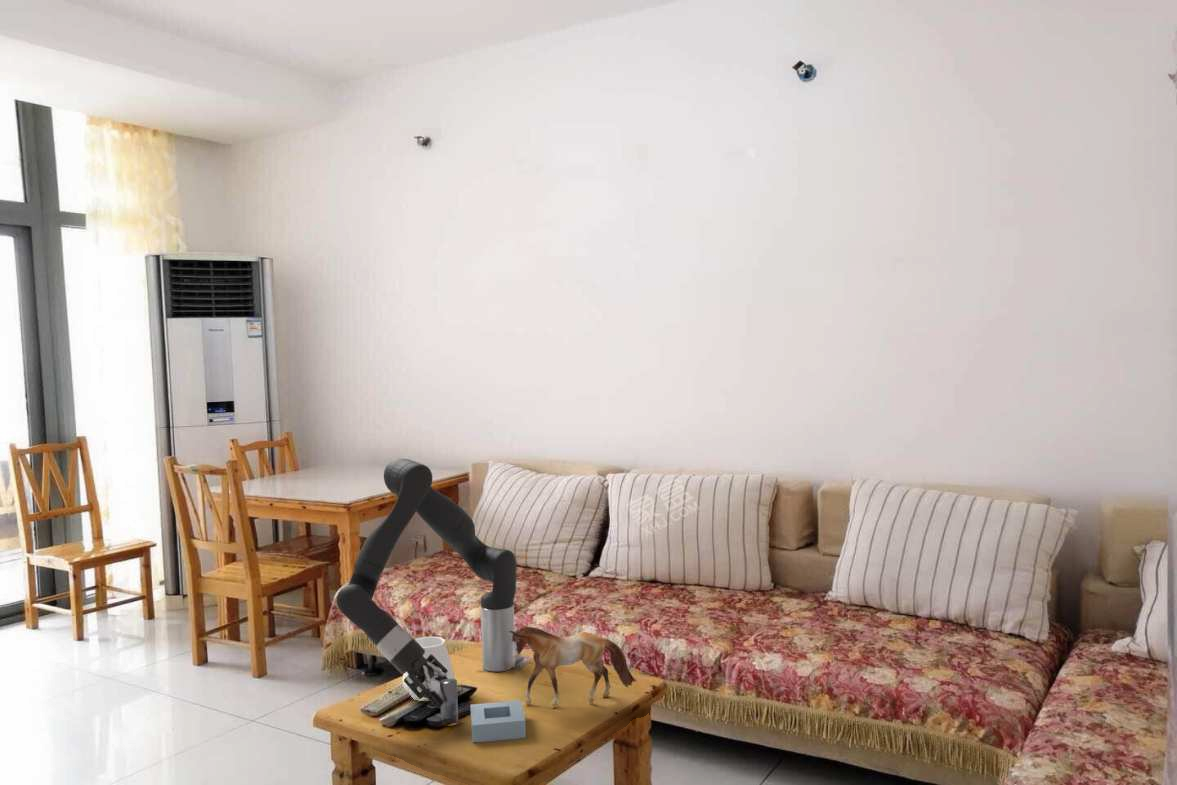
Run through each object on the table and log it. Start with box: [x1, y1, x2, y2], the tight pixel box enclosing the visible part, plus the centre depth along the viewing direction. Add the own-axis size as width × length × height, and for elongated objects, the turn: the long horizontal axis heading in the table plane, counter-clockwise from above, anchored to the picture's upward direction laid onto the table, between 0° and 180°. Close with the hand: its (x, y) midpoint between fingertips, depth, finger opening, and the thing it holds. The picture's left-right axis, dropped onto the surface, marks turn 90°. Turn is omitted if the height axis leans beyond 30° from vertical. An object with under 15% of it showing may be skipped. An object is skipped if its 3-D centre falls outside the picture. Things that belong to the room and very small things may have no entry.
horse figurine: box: [509, 626, 637, 708], centre depth 216 cm, size 31×8×21 cm, turn 100°
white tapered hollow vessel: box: [402, 636, 456, 701], centre depth 224 cm, size 13×13×14 cm
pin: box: [440, 678, 459, 723], centre depth 206 cm, size 4×4×10 cm
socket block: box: [470, 699, 527, 743], centre depth 202 cm, size 12×12×4 cm
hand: (447, 698), depth 206 cm, fingers open, 8 cm apart
